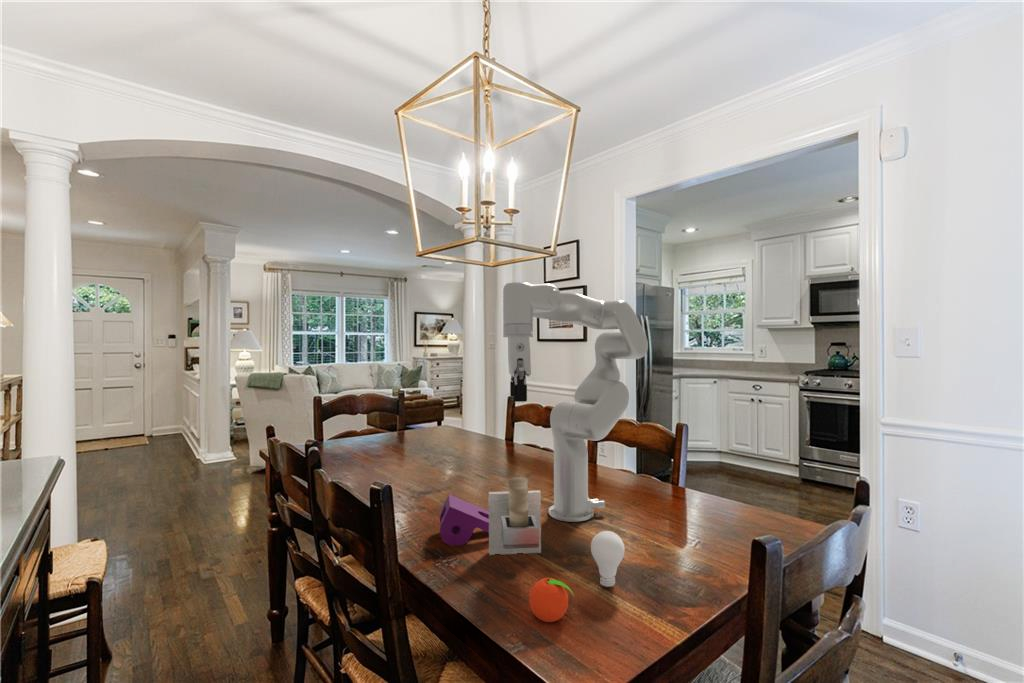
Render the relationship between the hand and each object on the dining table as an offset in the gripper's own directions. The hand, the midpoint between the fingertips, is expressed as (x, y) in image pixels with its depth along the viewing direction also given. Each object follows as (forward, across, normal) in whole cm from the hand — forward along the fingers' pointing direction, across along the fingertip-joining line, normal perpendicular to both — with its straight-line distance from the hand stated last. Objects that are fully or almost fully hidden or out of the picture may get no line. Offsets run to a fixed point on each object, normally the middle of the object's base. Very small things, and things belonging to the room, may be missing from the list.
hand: (518, 398), depth 123 cm
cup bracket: (+34, -18, +2) cm, 39 cm away
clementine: (+34, -38, -2) cm, 51 cm away
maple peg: (+26, -21, +2) cm, 34 cm away
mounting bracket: (+35, 0, +11) cm, 36 cm away
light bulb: (+34, -28, -15) cm, 47 cm away
